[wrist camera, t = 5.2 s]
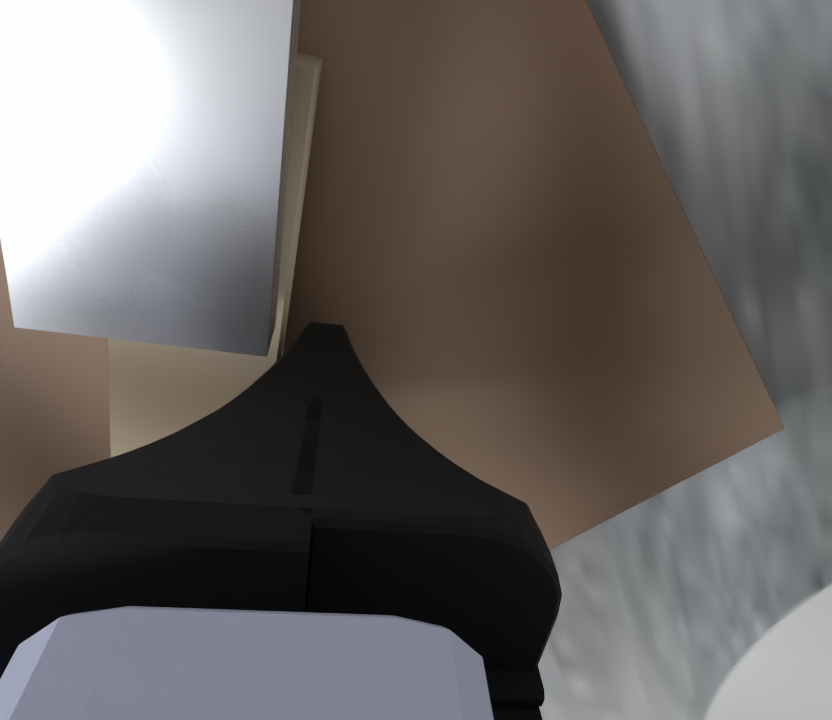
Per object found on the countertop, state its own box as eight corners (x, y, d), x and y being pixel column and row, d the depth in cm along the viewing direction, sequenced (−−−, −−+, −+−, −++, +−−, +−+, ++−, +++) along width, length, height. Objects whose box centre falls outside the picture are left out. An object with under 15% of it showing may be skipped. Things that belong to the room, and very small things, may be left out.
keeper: (271, 626, 17) (250, 775, 14) (127, 619, 16) (67, 773, 13) (351, -149, 9) (345, -238, 5) (66, -218, 8) (-132, -365, 5)
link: (263, 638, 17) (252, 712, 15) (122, 628, 16) (93, 704, 14) (354, 64, 10) (352, 78, 8) (114, 8, 9) (57, 9, 7)
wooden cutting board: (252, 675, 20) (247, 705, 19) (-547, 139, 11) (-628, 151, 10) (761, 404, 16) (784, 427, 15) (175, -820, 7) (148, -942, 6)
